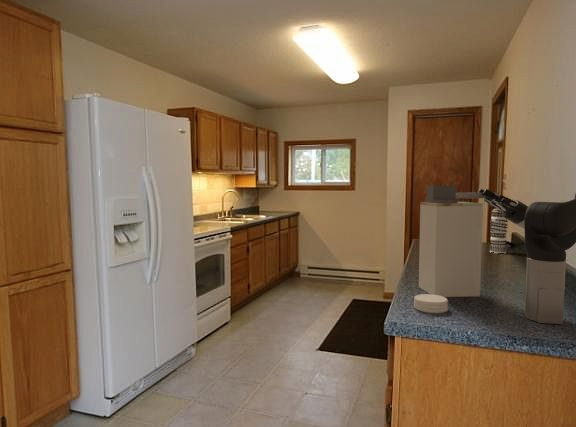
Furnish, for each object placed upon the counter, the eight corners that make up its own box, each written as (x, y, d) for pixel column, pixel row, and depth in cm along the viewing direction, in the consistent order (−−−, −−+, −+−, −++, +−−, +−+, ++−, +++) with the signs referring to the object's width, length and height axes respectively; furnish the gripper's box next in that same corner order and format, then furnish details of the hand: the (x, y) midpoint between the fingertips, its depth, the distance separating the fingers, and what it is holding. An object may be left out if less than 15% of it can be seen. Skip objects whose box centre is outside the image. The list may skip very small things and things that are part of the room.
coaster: (444, 316, 116) (444, 304, 115) (410, 310, 121) (410, 299, 121) (450, 307, 124) (450, 296, 124) (418, 302, 129) (418, 291, 129)
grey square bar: (491, 202, 144) (492, 185, 143) (501, 202, 138) (502, 185, 137) (426, 202, 142) (426, 185, 142) (433, 203, 136) (433, 185, 136)
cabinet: (460, 286, 149) (462, 198, 147) (480, 296, 135) (482, 199, 133) (418, 286, 149) (420, 198, 146) (434, 297, 135) (436, 199, 132)
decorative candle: (510, 252, 224) (512, 208, 222) (500, 254, 219) (502, 209, 218) (495, 250, 232) (496, 208, 230) (485, 251, 227) (486, 208, 226)
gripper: (514, 205, 148) (476, 182, 147) (540, 207, 134) (498, 181, 133) (504, 222, 149) (466, 199, 147) (529, 226, 135) (487, 201, 133)
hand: (481, 191), depth 140 cm, fingers open, 3 cm apart
